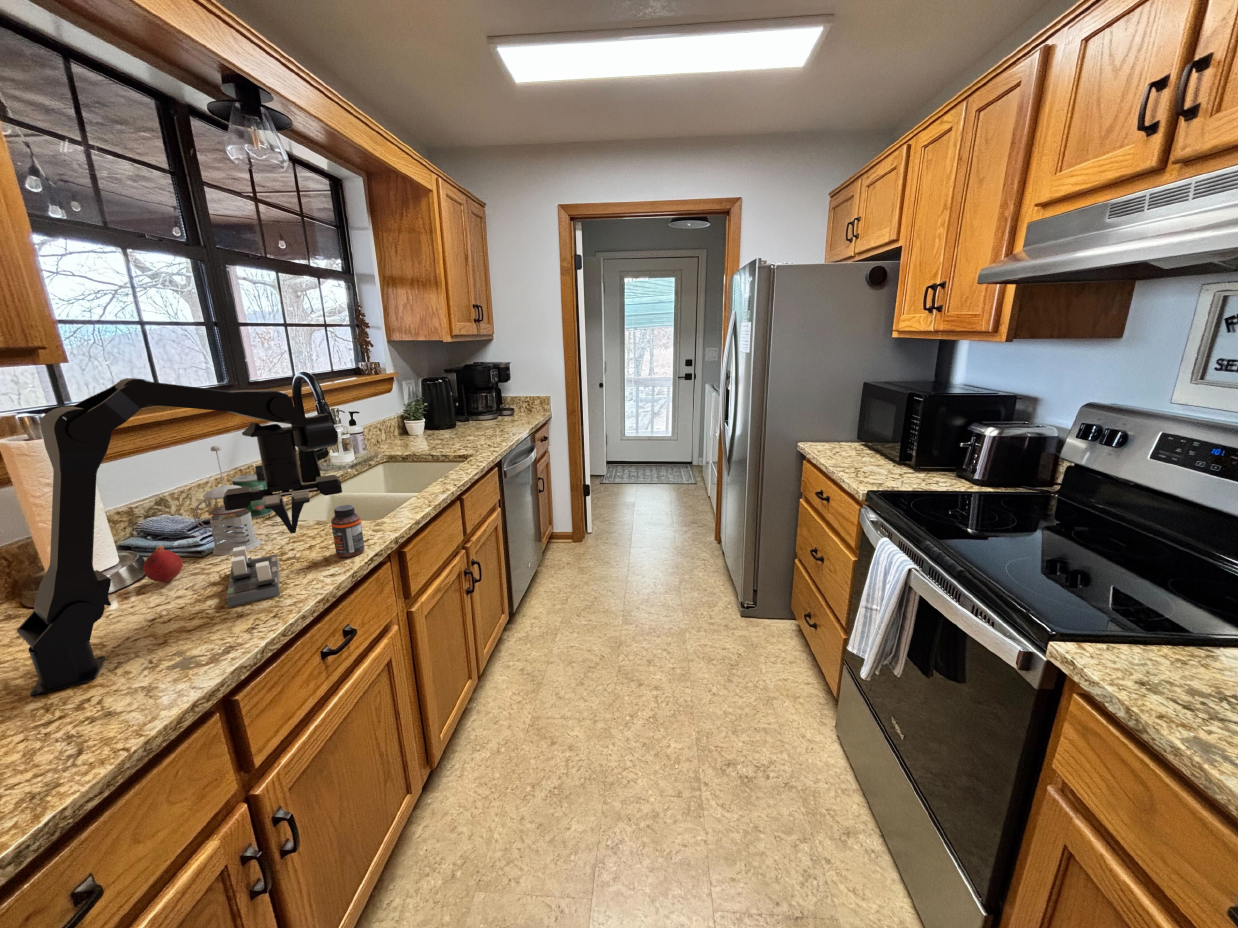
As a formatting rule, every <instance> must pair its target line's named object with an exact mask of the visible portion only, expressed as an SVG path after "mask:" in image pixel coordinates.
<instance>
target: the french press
mask: <svg viewBox="0 0 1238 928" xmlns="http://www.w3.org/2000/svg"><path fill="white" fill-rule="evenodd" d="M210 451H211V452H215V454H216V458H217V462H218V466H219V467H218V468H219V471H220V476H221V480H222V481H221V482H222V485H221V486H217V487H214V488H212V489H210V490H208V491H206V492H205V493H204V494H203V497H204V498H205V499H203V500H202V501H200V502H199V503H198V504H197V505H195V506H194V509H193V511H192V517H193V520H194V522H195V524H196V525H197V526H198V527H199V528H201V530H205V531H207V532H211V535H212V539H213V543H214V547H216V548H215V549H214V548H213V549H214V550H213V549H212V550H213V553H212V554H213V555H214V556H216V555H217V556H226V555H227V556H228V555H234V554H233V548H237V547H242V546H245V547H246V552H247V551H250V550H252V549H255V548H257V547H259V546H260V545H261V544H262V541H263V540H261V539H259V538H257V537H256V533H255V528H254V524H253V523H254V522H253V518H251V513H250V511H249V510H246V508H243V509H237V510H231V511H225V506H224V505H223V506H218V507H215V508H213V509H211V510H209V514H211V515H212V516H211V518H209V523H210V526H208V525H206V524H204V523H203V522H202V521H201V520H200V517H199V513H198V511H199V508H200V506H201V504H203V503H204V504H205V507H209V505H210V504H211V503H210V500H220V499H222V500H223V497H224V494H225V492H226V491H227V490H228V489H234V488H241V486H236V485H233V484H229V485H227V484H225V482H224V478H223V472H222V467H221V462H220V459H219V453H218V452H219V451H220V452H221V451H222V447H221V446H219V445H213V446H211V447H210ZM206 501H207V502H206ZM195 513H196V514H195ZM230 515H238V516H230ZM240 515H241V517H240ZM228 516H230V517H228ZM226 517H227V518H226ZM224 518H226V519H224ZM197 520H198V521H197ZM198 522H199V523H200V524H201V525H202V526H201V525H200V524H198ZM203 526H204V527H205V528H204V527H203ZM243 526H244V527H243ZM244 531H245V532H244ZM222 540H226V541H224V542H222V543H219V542H220V541H222ZM218 543H219V544H218Z"/></svg>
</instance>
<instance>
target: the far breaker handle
mask: <svg viewBox="0 0 1238 928" xmlns="http://www.w3.org/2000/svg"><path fill="white" fill-rule="evenodd" d="M232 555H233V558H235V557H240V556H244V557H245V562H246V566H249V565H251V561H252V560H251V559H252V557H249V556H248V552H247V551H246V547H245V546H242V547H237V548H233V554H232Z"/></svg>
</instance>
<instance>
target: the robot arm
mask: <svg viewBox="0 0 1238 928" xmlns="http://www.w3.org/2000/svg"><path fill="white" fill-rule="evenodd" d="M148 405H149V406H150V405H151V406H152V405H153V406H161V407H163V406H164V407H173V408H183V409H184V408H185V409H194V410H195V409H196V410H205V411H217V412H218V411H219V412H228V413H231V414H235V415H239V416H242V417H247V418H250V419H254V420H259V421H267V422H273V423H272V424H265V425H261V424H259V423H258V422H250V423H249V425H248V426H247V428H245V430H243V431H242V433H241V435H242V436H244V437H250V438H256V440H257V445H258V450H259V454H260V455H259V456H260V462H261V464H260V465H255V467H254V469H255V474H256V476H257V481H258V482H266V488H267V489H263V490H256V491H251V488H250V486H249V487H241V488H234V489H228V490H227V491H226V492H225V494H224V497H223V498H222V500H223V506H225V511H231V510H237V509H243V508H247V507H248V506H249V505H250V504H251V501H256V500H263V502H264V508H265V509H272V510H273V513H275V514H276V516H278V517H279V519H280V520H281V521H282V523H283V524H284V526H285V528H287V530H288V532H289V533H290V534H291V535H292V534H296V532H297V528H298V524H299V518H300V515H301V512H302V509H303V507H304V506H305V504H307V503H310V502H311V500H310V493H314V492H315V493H316V492H319V494H321V495H323V496H324V497H325V496H332V495H338V494H341V493H343V488H342V487H343V486H342V481H341V479H340V478H339V476H338V475H336V474H328V475H324V476H323V475H321V476H316V477H315V480H316V481H314V482H313V481H312V482H306V483H303V482H302V480H303V479H302V476H301V471H300V465H299V459H298V454H297V448H299V449H300V450H301V451H303V452H311V451H314V450H321V449H324V448H331V447H335V446H336V445H337V444H338V441H339V433H338V431H337V429H336V427H335V425H334V423H333V422H332V421H331V420H330V415H329V414H323V413H319V414H316V415H313V416H312V415H311V416H305V415H304V414H303V413H302V412H301V411H300V410H299V409H298V408H297V407H296V406H295V405H294V402H293V400H292V398H291V397H290V396H289V394H288V393H287V392H283V391H281V390H280V391H279V390H270V389H242V390H240V389H239V390H223V389H222V390H221V389H215V388H206V387H205V388H204V387H197V386H189V385H182V384H173V383H164V382H158V381H157V382H155V381H151V380H146V379H145V378H144V379H143V378H136V377H135V378H133V377H128V378H123V379H120V380H119V381H117V382H116V383H115V384H113V385H111V386H110V387H108V388H106V389H104V390H102V391H100V392H97V393H95V394H93V395H91V396H89V397H87V398H85V399H83V400H81V401H79V402H78V403H76V404H74V405H73V406H61V407H57V408H54V409H51V410H50V411H48V412H47V413H45V414H44V415H43V416H42V418H41V421H40V430H41V434H42V440H43V443H44V447H45V450H46V453H47V456H48V458H49V461H50V463H51V466H52V469H53V472H52V474H53V476H52V477H53V478H52V499H51V500H52V503H51V529H50V531H51V532H50V553H49V555H50V557H49V566H48V568H47V570H46V572H45V574H44V576H43V577H42V579H41V581H40V583H39V587H38V590H37V593H36V597H35V600H34V603H33V604H34V605H33V609H34V610H32V612H31V613H30V614H29V616H27V618H26V619H25V620H24V621H23V622H22V623H21V624H20V625H19V626H18V628H17V629H16V633H17V634H18V635H19V636H20V637H21V638H22V639H23V640H24V642H26V643H27V644H28V646H29V647H28V653H29V656H30V658H31V661H32V664H33V667H34V670H35V672H36V673H35V674H36V676H37V678H38V679H37V680H38V681H37V683H36V684H35V685H34V687H33V688H32V689H31V691H30V693H29V696H30V697H31V698H34V697H38V696H41V695H42V696H43V695H45V694H48V693H49V694H50V693H52V692H53V693H54V692H56V691H60V690H63V689H67V688H70V687H74V686H77V685H82V684H86V683H89V682H92V681H94V680H96V679H97V676H98V675H99V673H100V671H101V669H102V667H103V665H104V663H105V661H106V659H107V657H106V656H105V655H100V656H97V657H95V653H94V651H93V647H92V644H91V641H90V640H91V638H92V634H93V633H92V632H93V630H94V624H95V623H96V622H97V621H99V620H101V619H102V616H103V615H104V614H105V613H104V612H105V609H106V607H105V606H108V607H111V605H112V602H111V601H110V599H109V590H110V588H111V583H112V578H110V577H109V576H107V575H106V574H104V573H103V572H101V571H100V570H97V569H94V563H93V562H94V542H95V541H94V540H95V519H96V518H95V517H96V516H95V515H96V514H95V513H96V497H97V496H96V495H97V493H96V492H97V474H98V470H99V468H100V466H101V464H102V463H103V460H104V459H105V457H106V455H107V453H108V449H109V445H110V442H111V440H112V435H113V431H114V430H116V429H117V428H119V427H120V426H122V425H123V424H124V423H126V422H128V421H129V420H130V419H131V418H132V417H134V416H135V415H136V414H137V413H139V411H140V410H141V409H143V408H144V407H146V406H148ZM278 423H279V424H278ZM280 424H286V425H287V424H288V425H290V426H286V427H282V426H281V425H280ZM287 496H290V498H291V499H290V500H291V501H290V502H291V503H290V504H291V505H290V506H291V509H290V510H291V520H290V516H289V513H288V510H287V508H286V505H285V501H284V497H287Z"/></svg>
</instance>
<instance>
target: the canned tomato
mask: <svg viewBox="0 0 1238 928" xmlns="http://www.w3.org/2000/svg"><path fill="white" fill-rule="evenodd" d="M231 481H232V485H236V486H241V487H249V486H250V488H251V491H256V490H263V489H267V488H266V482H258V481H257V476H256V473H251V474H250V473H249V474H243V475H239V476H236V477H233V478H232V479H231ZM246 510H249V511H250V513H251V518H252V519H256V518H261V517H265V516H268V515H270V514H272V513H274V511H273V510H272V509H265V508H264V502H263V500H256V501H251V504H250V505H249V506H248V507H247V508H246ZM239 517H241V515H239Z"/></svg>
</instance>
